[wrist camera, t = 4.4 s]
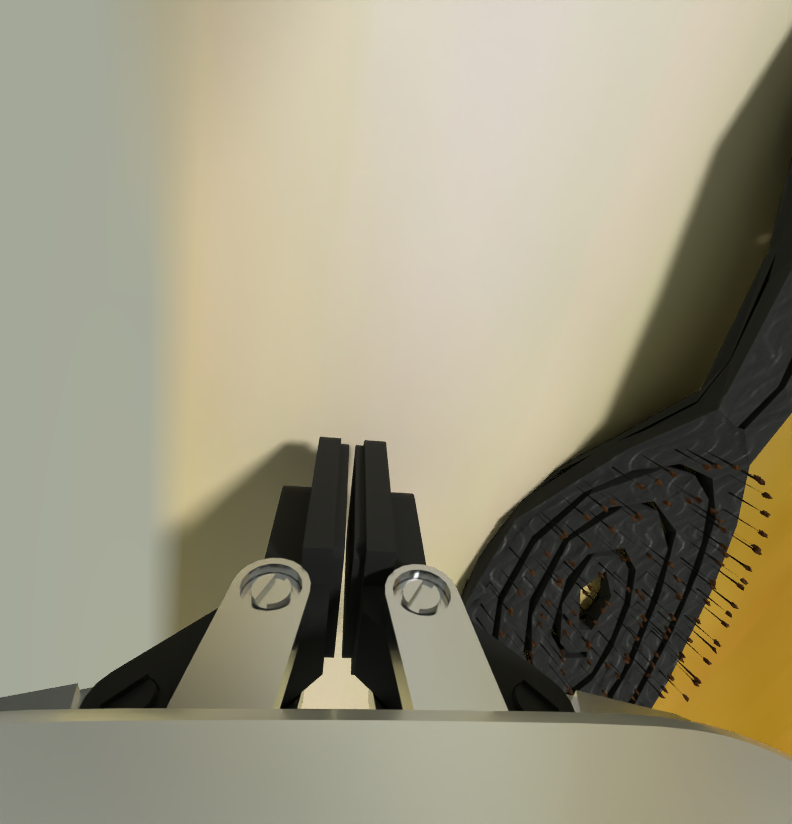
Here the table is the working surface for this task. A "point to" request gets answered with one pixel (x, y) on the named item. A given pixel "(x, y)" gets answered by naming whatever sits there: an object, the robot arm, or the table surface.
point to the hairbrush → (645, 516)
